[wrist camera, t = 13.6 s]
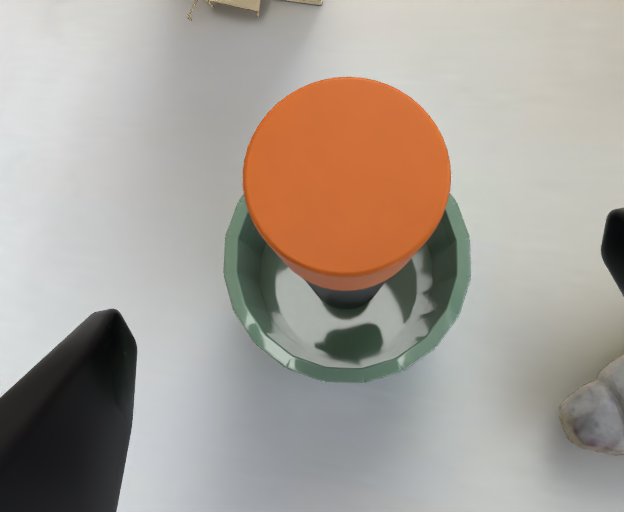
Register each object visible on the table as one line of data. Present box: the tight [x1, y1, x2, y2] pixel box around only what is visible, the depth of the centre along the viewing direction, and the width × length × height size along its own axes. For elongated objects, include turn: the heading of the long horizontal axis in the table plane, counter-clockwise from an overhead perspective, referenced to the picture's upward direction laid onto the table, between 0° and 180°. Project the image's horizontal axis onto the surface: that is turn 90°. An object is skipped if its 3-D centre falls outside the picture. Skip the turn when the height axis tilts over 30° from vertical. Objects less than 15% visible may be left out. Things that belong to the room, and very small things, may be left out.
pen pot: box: [223, 193, 471, 383], centre depth 18 cm, size 8×8×5 cm
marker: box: [243, 77, 451, 309], centre depth 14 cm, size 3×3×13 cm
